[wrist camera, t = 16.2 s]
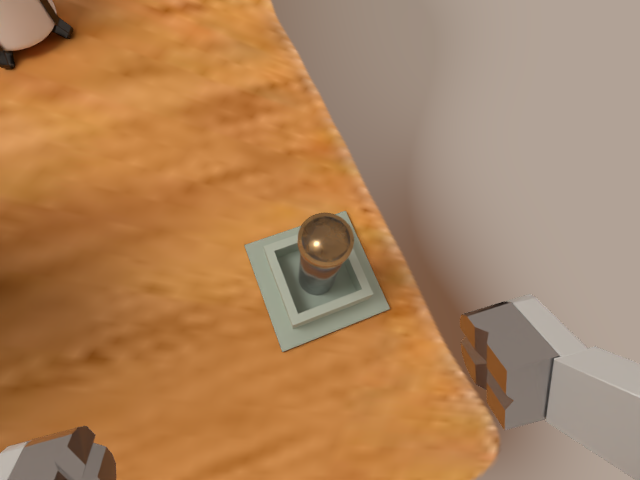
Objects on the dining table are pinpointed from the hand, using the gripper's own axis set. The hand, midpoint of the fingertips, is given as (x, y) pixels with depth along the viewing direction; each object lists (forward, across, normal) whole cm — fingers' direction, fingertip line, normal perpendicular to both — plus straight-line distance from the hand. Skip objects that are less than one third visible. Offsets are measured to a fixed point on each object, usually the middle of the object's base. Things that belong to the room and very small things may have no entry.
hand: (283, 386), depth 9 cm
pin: (+35, +1, -23) cm, 42 cm away
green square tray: (+35, +1, -24) cm, 42 cm away
